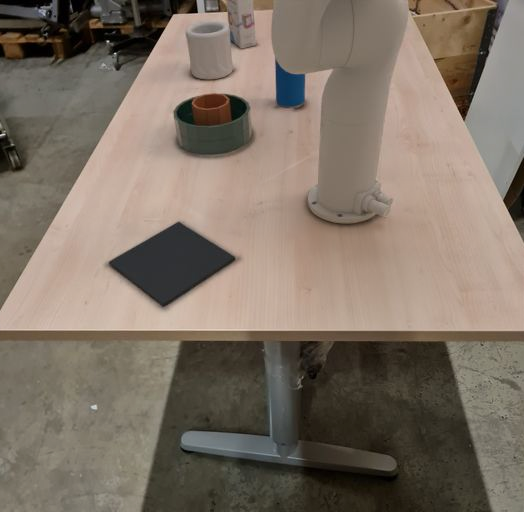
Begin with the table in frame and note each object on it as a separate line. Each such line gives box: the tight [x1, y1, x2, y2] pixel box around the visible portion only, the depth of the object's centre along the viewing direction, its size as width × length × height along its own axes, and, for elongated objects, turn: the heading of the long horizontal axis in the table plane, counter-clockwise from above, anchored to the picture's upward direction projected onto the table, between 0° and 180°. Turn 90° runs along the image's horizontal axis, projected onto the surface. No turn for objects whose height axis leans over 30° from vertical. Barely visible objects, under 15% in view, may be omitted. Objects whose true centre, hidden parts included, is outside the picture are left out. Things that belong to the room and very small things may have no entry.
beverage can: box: [274, 57, 306, 109], centre depth 104 cm, size 6×6×12 cm
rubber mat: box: [108, 221, 236, 308], centre depth 74 cm, size 14×14×1 cm
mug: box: [185, 20, 234, 80], centre depth 120 cm, size 14×11×10 cm
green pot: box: [172, 92, 253, 156], centre depth 98 cm, size 15×15×6 cm
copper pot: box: [192, 92, 232, 126], centre depth 97 cm, size 7×8×7 cm
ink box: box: [225, 0, 257, 50], centre depth 132 cm, size 9×5×12 cm, turn 25°
